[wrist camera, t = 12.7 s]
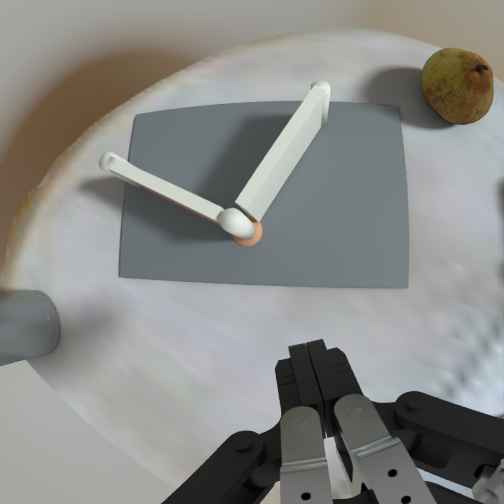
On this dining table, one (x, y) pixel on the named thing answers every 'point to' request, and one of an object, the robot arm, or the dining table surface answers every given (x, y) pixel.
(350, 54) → the dining table surface
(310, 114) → the fence gate
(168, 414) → the dining table surface
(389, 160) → the card
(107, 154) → the fence fixed
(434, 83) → the fruit
